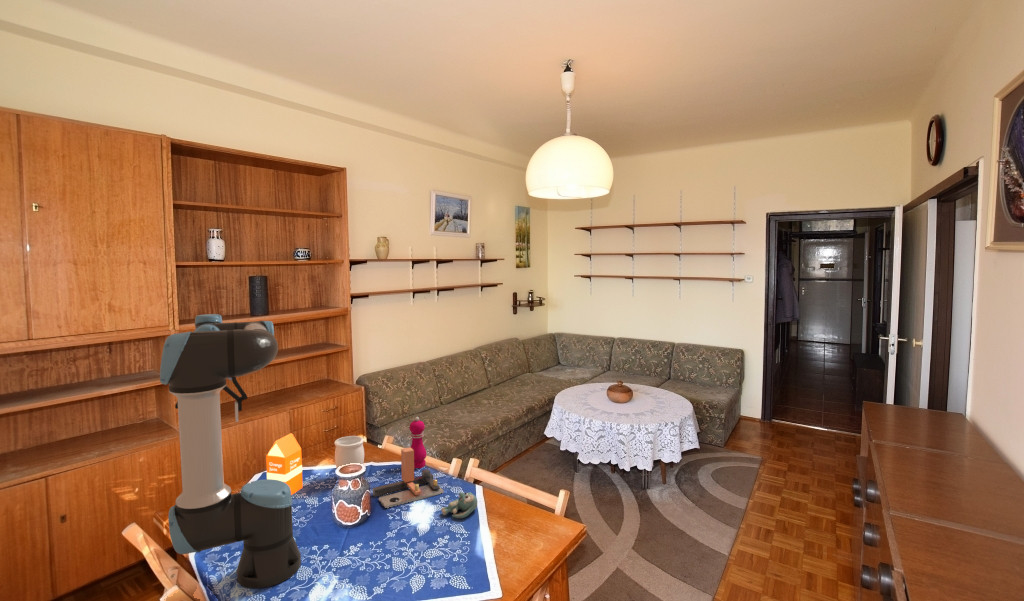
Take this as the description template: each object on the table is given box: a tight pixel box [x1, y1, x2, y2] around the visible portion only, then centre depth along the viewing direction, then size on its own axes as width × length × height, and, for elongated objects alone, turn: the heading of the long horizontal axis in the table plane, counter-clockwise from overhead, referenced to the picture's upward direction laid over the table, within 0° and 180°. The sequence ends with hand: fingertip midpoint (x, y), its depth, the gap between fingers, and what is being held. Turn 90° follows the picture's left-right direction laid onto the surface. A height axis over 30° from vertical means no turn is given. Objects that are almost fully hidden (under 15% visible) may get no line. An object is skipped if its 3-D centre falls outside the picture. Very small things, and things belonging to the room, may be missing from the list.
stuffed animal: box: [440, 491, 478, 519], centre depth 158 cm, size 11×7×12 cm
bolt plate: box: [378, 484, 444, 509], centre depth 169 cm, size 7×21×1 cm, turn 123°
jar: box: [334, 435, 365, 469], centre depth 182 cm, size 11×10×15 cm
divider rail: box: [372, 468, 440, 498], centre depth 172 cm, size 11×22×4 cm, turn 123°
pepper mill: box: [409, 416, 427, 470], centre depth 194 cm, size 7×7×20 cm
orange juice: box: [265, 432, 303, 496], centre depth 172 cm, size 8×9×20 cm
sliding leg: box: [400, 446, 421, 495], centre depth 172 cm, size 12×4×13 cm, turn 33°
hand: (213, 424), depth 161 cm, fingers open, 13 cm apart
